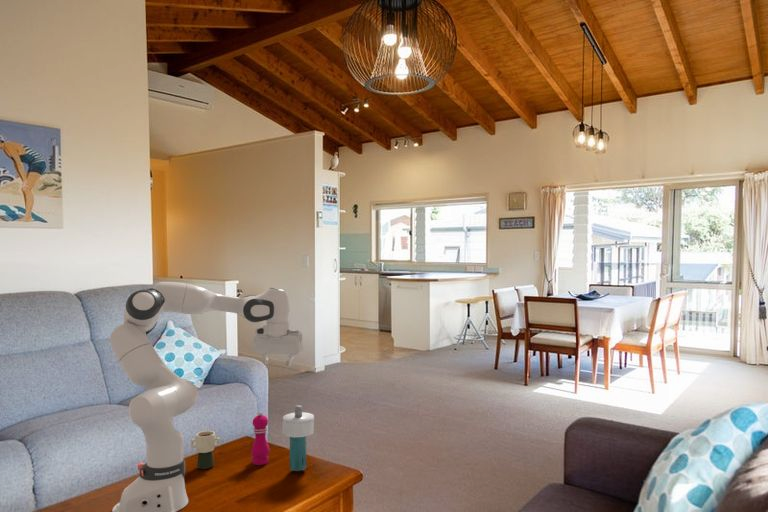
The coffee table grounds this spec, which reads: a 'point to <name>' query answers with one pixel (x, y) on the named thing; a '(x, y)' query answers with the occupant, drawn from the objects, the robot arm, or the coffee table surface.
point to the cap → (298, 423)
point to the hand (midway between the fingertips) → (278, 365)
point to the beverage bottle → (297, 453)
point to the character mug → (205, 448)
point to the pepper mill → (260, 440)
